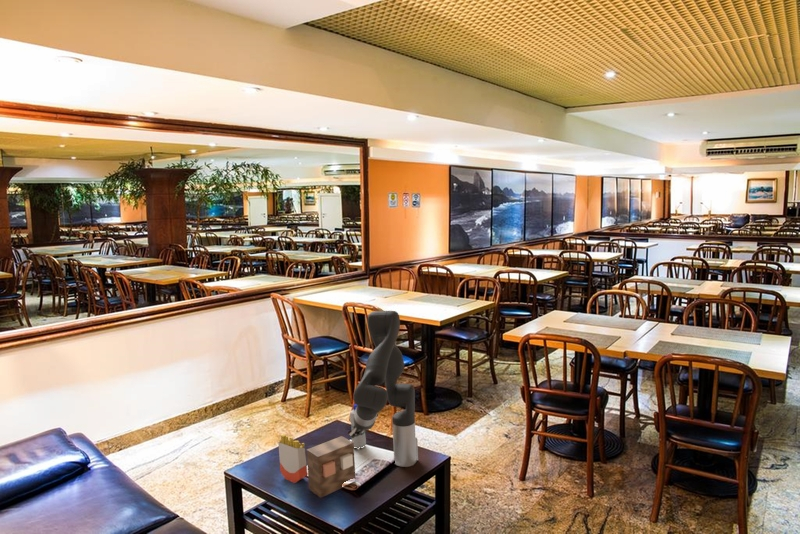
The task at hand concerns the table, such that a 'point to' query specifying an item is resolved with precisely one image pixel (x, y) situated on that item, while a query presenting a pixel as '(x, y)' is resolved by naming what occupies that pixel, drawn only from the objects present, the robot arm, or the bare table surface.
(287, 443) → the french fries container
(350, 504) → the table surface
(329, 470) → the terracotta key
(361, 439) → the bottle
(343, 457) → the ivory key
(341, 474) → the key panel
